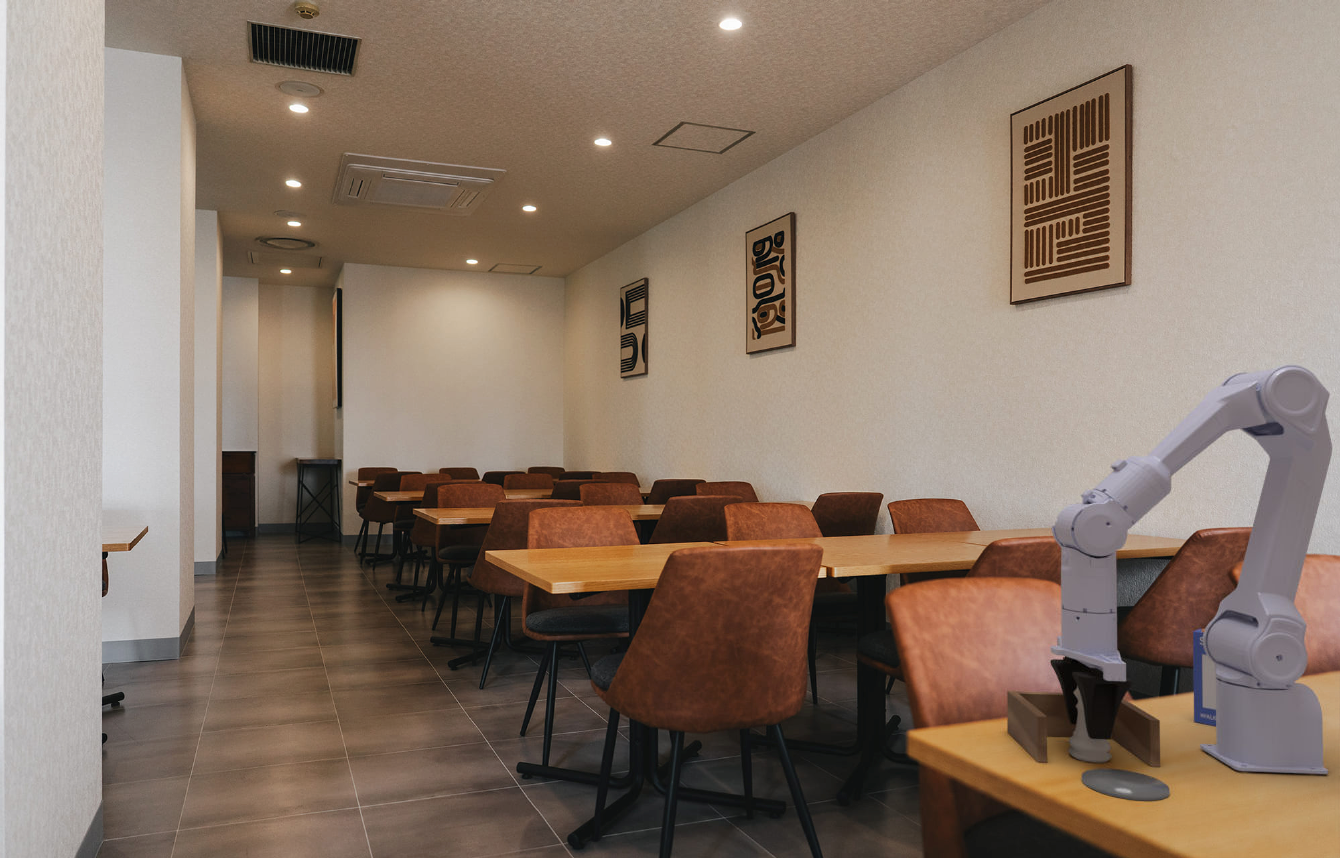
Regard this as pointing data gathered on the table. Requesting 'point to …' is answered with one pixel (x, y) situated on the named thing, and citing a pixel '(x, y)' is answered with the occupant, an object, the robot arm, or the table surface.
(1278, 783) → the table surface
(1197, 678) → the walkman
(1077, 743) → the rook chess piece
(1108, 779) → the coaster
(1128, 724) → the u-shaped barrier
